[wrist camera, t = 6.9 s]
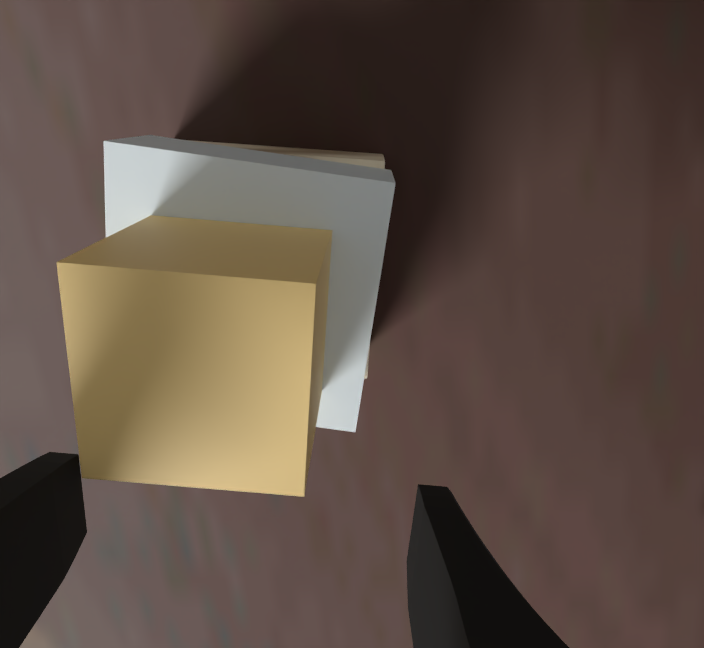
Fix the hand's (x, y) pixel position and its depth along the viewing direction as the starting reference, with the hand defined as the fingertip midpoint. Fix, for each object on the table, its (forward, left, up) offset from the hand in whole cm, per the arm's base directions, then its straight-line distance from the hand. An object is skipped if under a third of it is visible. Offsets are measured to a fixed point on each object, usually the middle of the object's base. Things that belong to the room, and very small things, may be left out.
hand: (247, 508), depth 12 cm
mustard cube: (+1, -3, -4) cm, 5 cm away
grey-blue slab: (+1, -3, -7) cm, 8 cm away
